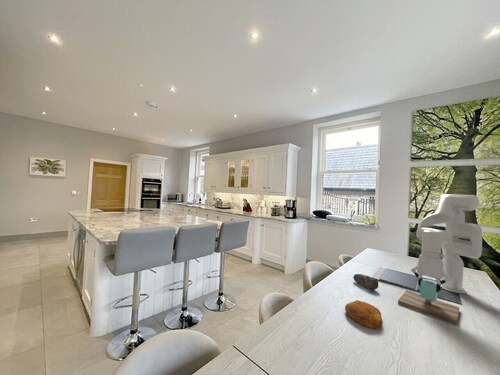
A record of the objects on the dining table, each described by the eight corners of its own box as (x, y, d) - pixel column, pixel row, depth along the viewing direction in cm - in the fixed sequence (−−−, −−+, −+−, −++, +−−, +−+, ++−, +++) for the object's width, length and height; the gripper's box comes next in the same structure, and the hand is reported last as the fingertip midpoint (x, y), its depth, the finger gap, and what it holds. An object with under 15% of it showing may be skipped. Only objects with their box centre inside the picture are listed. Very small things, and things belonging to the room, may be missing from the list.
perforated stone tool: (350, 281, 135) (351, 271, 135) (356, 280, 138) (356, 270, 138) (373, 292, 122) (374, 280, 122) (379, 291, 124) (379, 279, 124)
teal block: (422, 293, 113) (422, 278, 113) (436, 298, 109) (437, 282, 109) (419, 296, 109) (420, 281, 109) (435, 302, 105) (436, 285, 105)
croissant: (369, 338, 87) (372, 320, 86) (338, 312, 100) (341, 296, 99) (390, 328, 93) (393, 312, 92) (358, 305, 107) (361, 290, 106)
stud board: (406, 293, 123) (407, 274, 123) (459, 311, 107) (460, 289, 107) (398, 303, 111) (399, 282, 111) (456, 325, 95) (457, 301, 95)
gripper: (454, 257, 105) (452, 293, 105) (411, 249, 118) (409, 281, 118) (453, 260, 100) (451, 298, 100) (408, 251, 113) (406, 284, 113)
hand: (428, 288), depth 109 cm, fingers closed on teal block, 6 cm apart
